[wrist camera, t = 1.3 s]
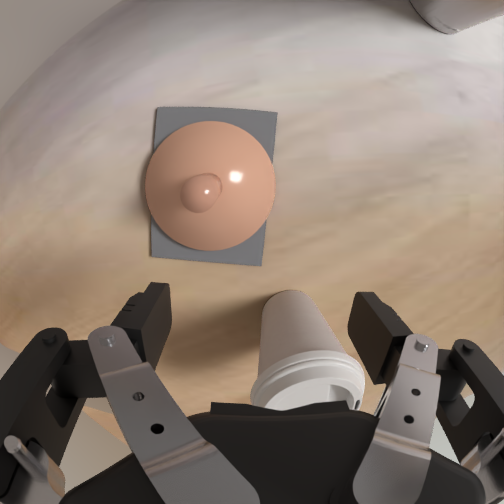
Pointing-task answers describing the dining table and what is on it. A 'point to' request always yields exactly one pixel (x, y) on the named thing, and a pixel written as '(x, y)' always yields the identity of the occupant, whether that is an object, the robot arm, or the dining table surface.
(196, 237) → the lid
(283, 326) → the coffee cup
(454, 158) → the dining table surface
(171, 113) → the mat
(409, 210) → the dining table surface
